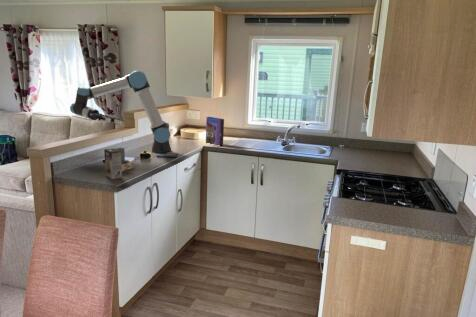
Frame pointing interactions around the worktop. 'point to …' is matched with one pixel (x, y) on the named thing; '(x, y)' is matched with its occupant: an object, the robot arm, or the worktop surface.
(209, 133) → the cereal box
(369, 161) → the worktop surface
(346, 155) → the worktop surface
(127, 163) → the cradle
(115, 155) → the coffee box
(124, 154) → the battery cell
